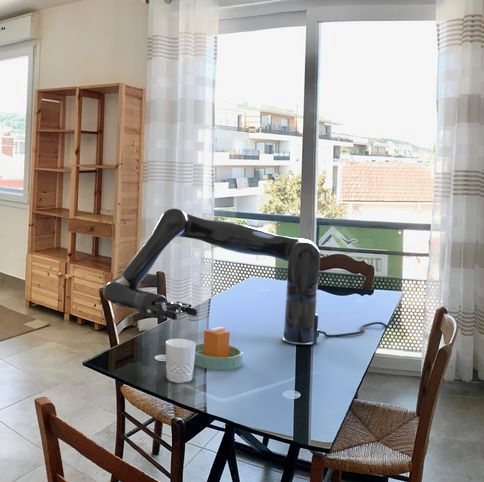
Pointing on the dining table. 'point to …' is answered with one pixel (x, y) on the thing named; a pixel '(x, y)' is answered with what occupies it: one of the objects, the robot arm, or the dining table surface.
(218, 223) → the robot arm
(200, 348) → the bowl
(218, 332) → the carton
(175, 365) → the white cup
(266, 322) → the dining table surface
